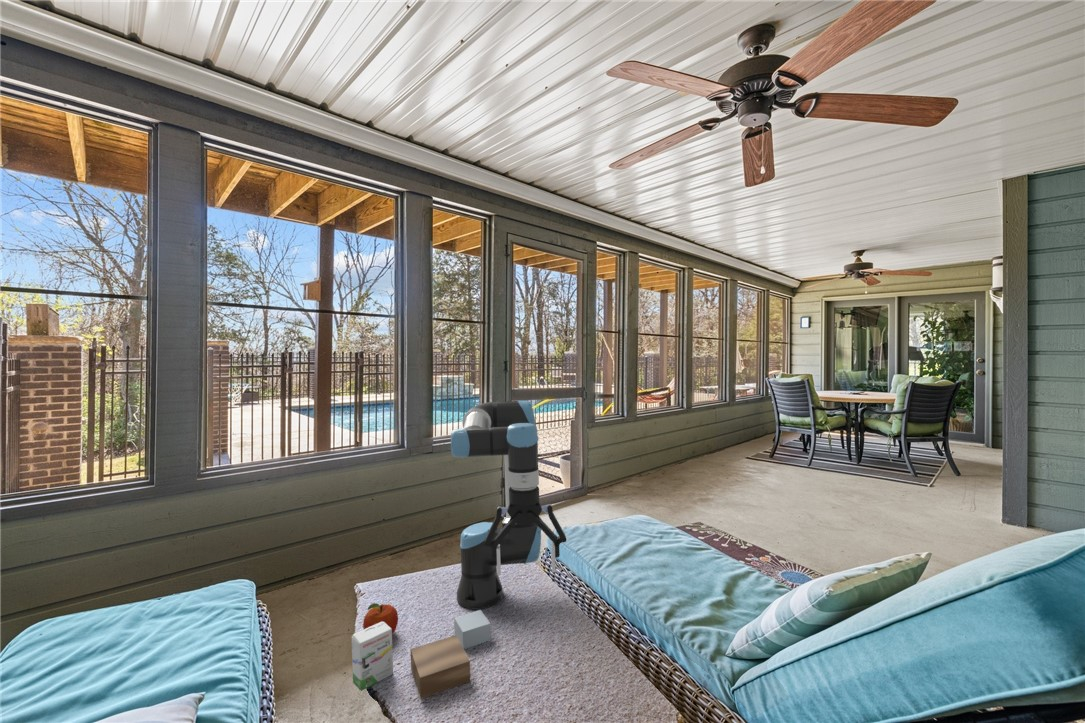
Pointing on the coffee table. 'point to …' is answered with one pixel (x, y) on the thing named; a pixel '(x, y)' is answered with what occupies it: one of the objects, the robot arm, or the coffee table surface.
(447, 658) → the walnut block
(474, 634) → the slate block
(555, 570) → the robot arm
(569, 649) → the coffee table surface
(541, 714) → the coffee table surface
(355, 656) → the ink box
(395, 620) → the fruit
